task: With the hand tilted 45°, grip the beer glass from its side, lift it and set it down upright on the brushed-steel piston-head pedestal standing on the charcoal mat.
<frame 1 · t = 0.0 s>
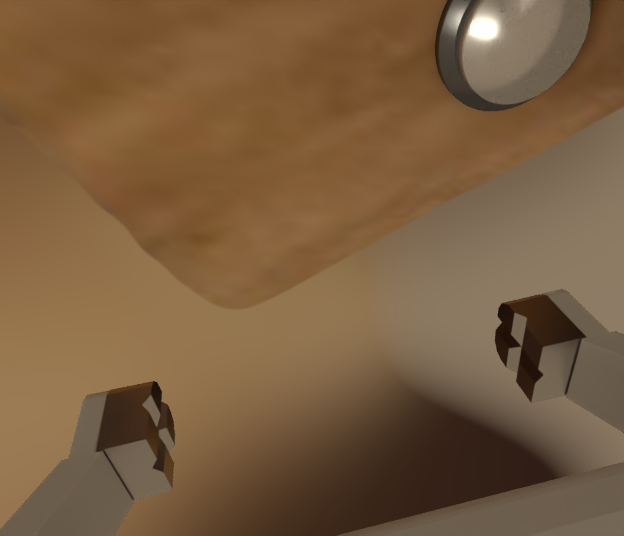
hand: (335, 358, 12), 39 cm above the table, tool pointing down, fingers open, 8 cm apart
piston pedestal: (510, 30, 47), on the table
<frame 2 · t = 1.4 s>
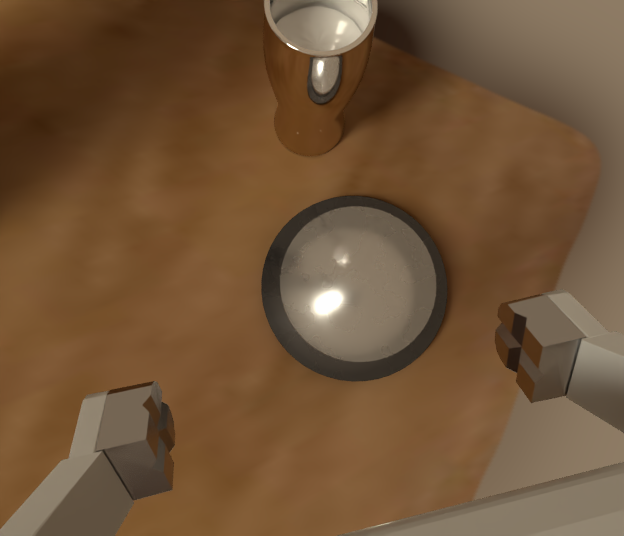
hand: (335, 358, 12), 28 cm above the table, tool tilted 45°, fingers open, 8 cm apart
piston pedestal: (353, 287, 41), on the table
beer glass: (309, 124, 43), on the table
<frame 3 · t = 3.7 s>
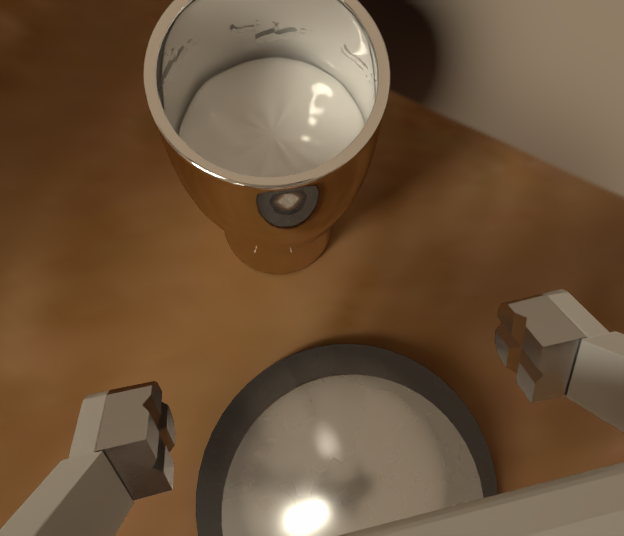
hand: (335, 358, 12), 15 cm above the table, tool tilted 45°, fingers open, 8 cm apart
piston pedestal: (346, 491, 25), on the table
beer glass: (278, 222, 28), on the table
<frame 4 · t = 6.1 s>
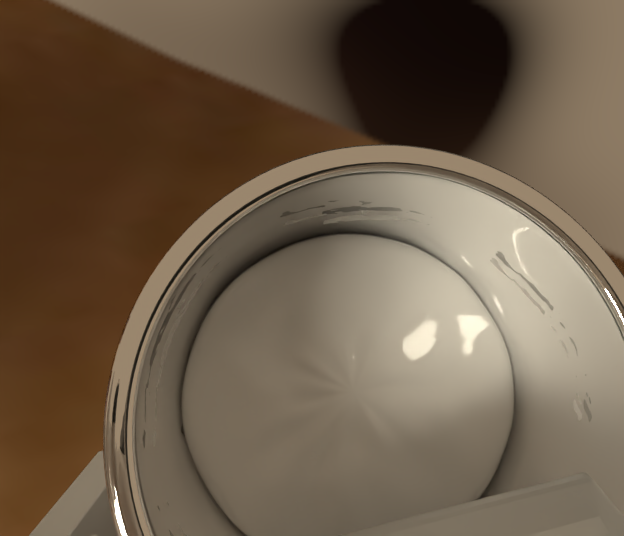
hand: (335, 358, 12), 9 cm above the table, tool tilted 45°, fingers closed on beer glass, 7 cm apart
beer glass: (318, 372, 21), on the table, touching gripper
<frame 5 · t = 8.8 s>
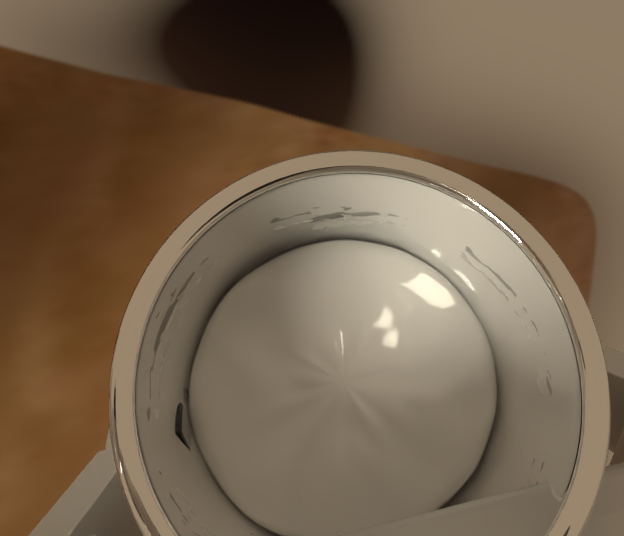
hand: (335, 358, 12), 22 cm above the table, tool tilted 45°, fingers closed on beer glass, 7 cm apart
beer glass: (331, 385, 21), point 12 cm above the table, touching gripper
when the fingers open (13 cm above the table, at t = 11.7 s): beer glass stays where it is, resting on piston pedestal.
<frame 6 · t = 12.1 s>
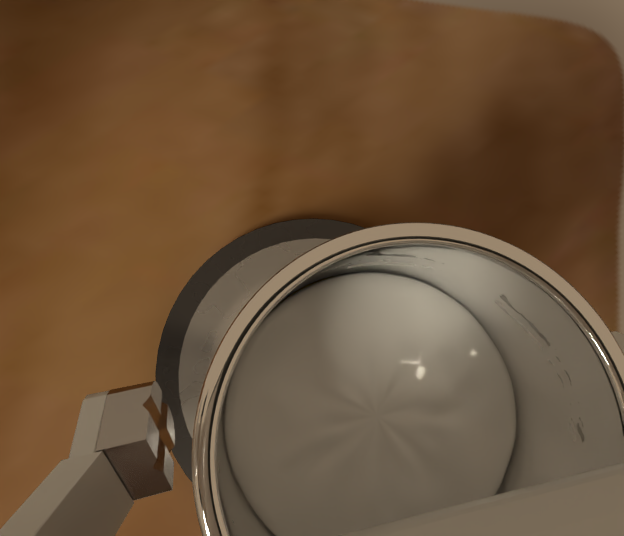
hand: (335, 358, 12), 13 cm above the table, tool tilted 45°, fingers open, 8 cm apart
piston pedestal: (313, 369, 25), on the table
beer glass: (328, 385, 22), point 3 cm above the table, touching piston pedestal
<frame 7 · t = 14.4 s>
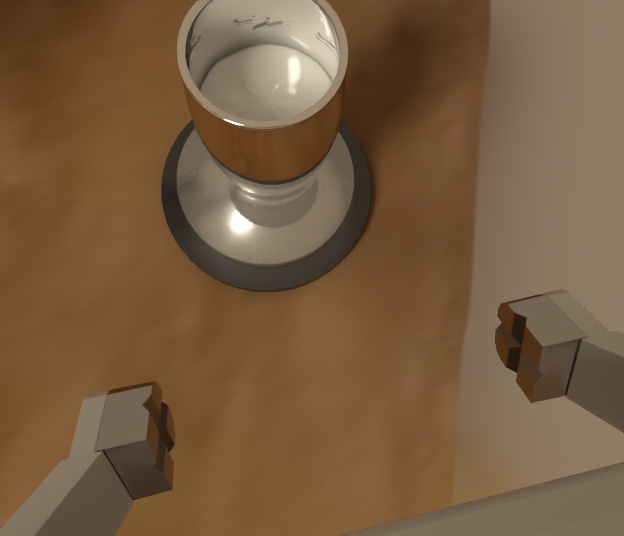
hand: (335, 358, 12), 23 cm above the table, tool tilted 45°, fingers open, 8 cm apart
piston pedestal: (267, 191, 37), on the table
beer glass: (273, 186, 34), point 3 cm above the table, touching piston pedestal
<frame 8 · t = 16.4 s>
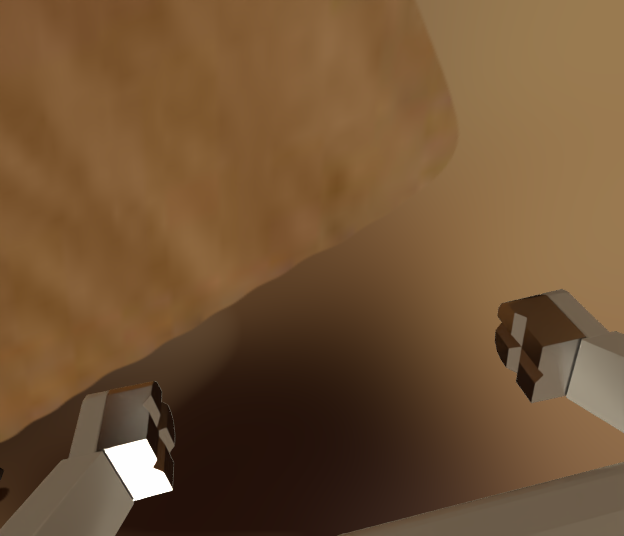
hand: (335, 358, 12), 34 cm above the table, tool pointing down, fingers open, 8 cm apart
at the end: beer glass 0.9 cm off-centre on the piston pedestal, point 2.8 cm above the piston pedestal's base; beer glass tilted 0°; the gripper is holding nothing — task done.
